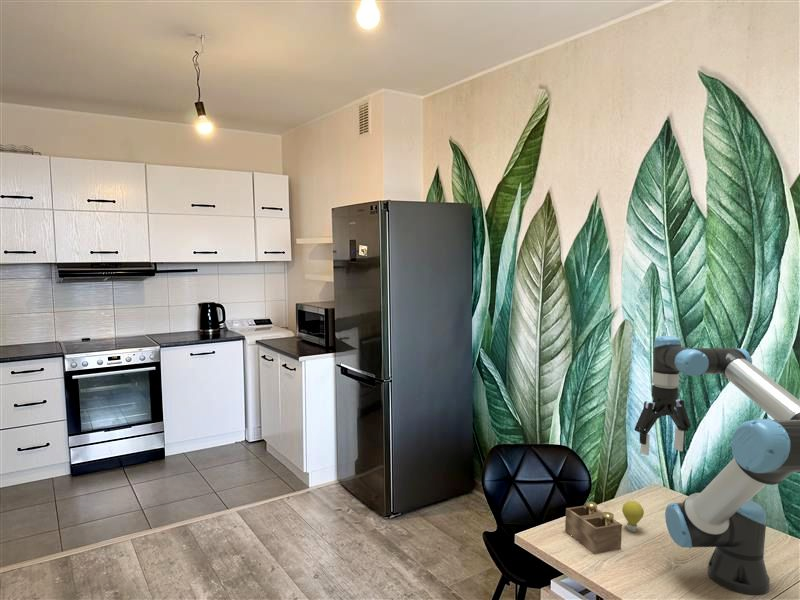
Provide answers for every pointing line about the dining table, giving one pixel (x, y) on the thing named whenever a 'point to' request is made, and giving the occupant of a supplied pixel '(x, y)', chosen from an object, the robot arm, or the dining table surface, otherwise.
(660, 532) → the dining table surface
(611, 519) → the post
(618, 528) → the keyhole block
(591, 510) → the post
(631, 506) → the light bulb
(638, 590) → the dining table surface
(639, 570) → the dining table surface
